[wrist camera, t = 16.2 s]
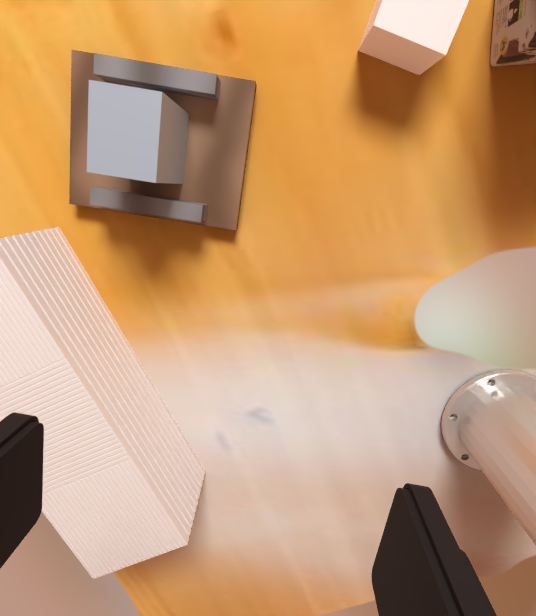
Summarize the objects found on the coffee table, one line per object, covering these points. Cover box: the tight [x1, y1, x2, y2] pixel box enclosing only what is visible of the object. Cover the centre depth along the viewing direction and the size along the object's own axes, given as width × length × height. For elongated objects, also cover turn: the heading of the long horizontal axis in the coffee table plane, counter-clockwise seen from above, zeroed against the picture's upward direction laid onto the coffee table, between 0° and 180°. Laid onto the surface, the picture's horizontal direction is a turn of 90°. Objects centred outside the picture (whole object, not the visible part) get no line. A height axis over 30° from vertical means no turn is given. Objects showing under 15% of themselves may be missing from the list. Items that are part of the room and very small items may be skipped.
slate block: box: [87, 80, 189, 184], centre depth 33 cm, size 5×6×9 cm
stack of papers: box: [0, 227, 206, 579], centre depth 41 cm, size 32×11×11 cm, turn 25°
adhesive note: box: [358, 0, 469, 75], centre depth 33 cm, size 6×6×6 cm
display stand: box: [69, 50, 256, 230], centre depth 37 cm, size 16×13×4 cm
